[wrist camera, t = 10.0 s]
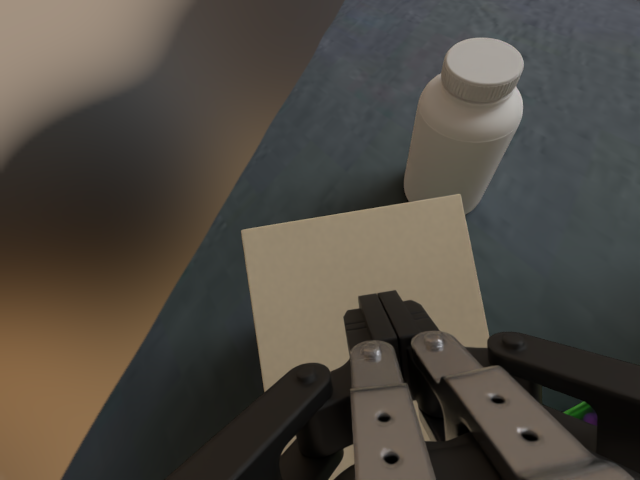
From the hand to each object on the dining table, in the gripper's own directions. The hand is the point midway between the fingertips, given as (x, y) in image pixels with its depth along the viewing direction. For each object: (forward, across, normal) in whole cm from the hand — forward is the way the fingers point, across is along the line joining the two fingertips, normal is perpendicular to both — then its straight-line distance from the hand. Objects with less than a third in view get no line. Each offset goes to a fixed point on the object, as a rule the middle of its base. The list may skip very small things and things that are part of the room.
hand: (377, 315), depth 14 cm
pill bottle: (+25, -12, 0) cm, 28 cm away
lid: (+4, 0, +4) cm, 6 cm away
